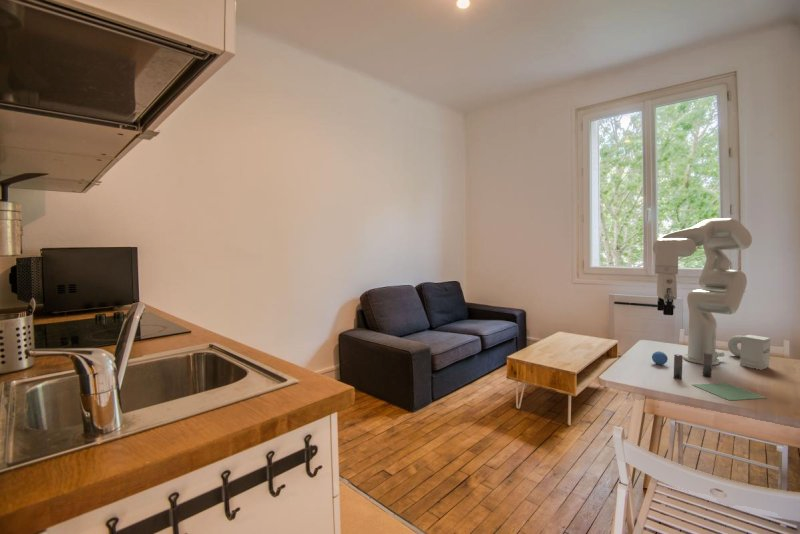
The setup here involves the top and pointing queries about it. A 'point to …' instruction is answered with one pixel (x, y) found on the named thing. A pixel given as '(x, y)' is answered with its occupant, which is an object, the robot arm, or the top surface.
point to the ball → (659, 358)
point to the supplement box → (755, 351)
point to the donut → (734, 345)
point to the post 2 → (707, 365)
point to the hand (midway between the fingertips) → (665, 312)
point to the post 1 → (678, 366)
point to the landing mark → (728, 391)
